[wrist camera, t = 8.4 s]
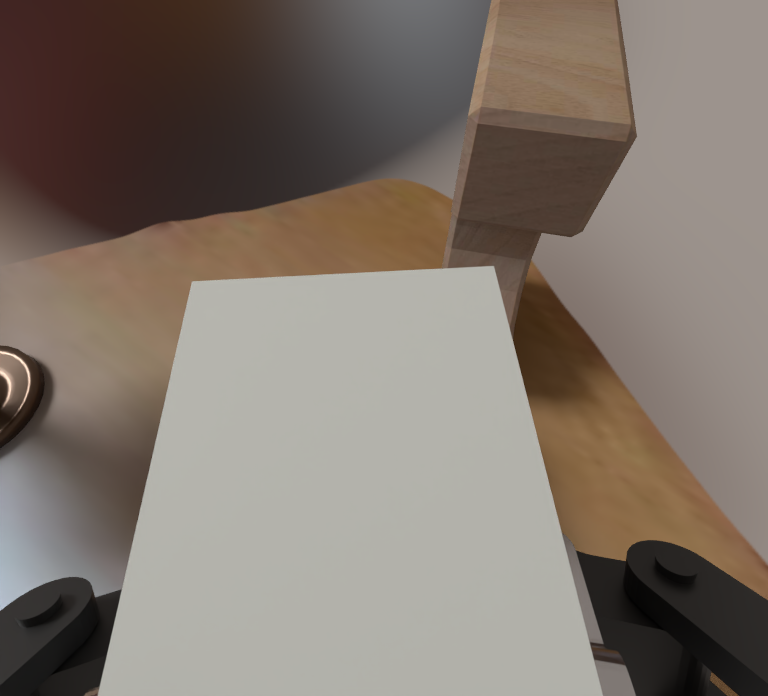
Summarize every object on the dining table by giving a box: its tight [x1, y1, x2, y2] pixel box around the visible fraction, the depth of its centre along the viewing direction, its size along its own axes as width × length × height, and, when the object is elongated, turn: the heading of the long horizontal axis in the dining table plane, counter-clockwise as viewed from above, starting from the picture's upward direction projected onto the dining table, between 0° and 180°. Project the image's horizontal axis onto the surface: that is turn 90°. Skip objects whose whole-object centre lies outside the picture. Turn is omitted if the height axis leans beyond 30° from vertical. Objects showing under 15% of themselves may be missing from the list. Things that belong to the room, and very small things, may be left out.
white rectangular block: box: [98, 266, 603, 696], centre depth 10 cm, size 4×6×14 cm, turn 3°
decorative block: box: [442, 0, 637, 339], centre depth 24 cm, size 11×6×20 cm, turn 166°
